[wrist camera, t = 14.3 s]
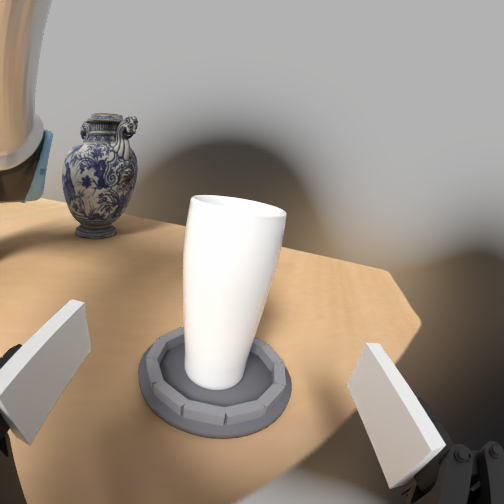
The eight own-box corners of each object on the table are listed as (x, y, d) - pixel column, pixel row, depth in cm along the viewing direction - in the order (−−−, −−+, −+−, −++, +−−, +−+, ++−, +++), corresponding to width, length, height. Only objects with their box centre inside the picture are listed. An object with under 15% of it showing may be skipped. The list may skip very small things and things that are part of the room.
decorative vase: (151, 235, 63) (165, 118, 54) (92, 252, 46) (104, 104, 38) (99, 219, 69) (108, 122, 61) (46, 231, 52) (54, 116, 44)
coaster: (131, 339, 25) (130, 324, 25) (249, 329, 32) (251, 316, 32) (157, 453, 14) (155, 439, 13) (318, 410, 20) (325, 396, 20)
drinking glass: (258, 363, 25) (294, 209, 21) (237, 410, 19) (278, 219, 14) (195, 342, 27) (213, 193, 22) (162, 380, 20) (170, 197, 16)
